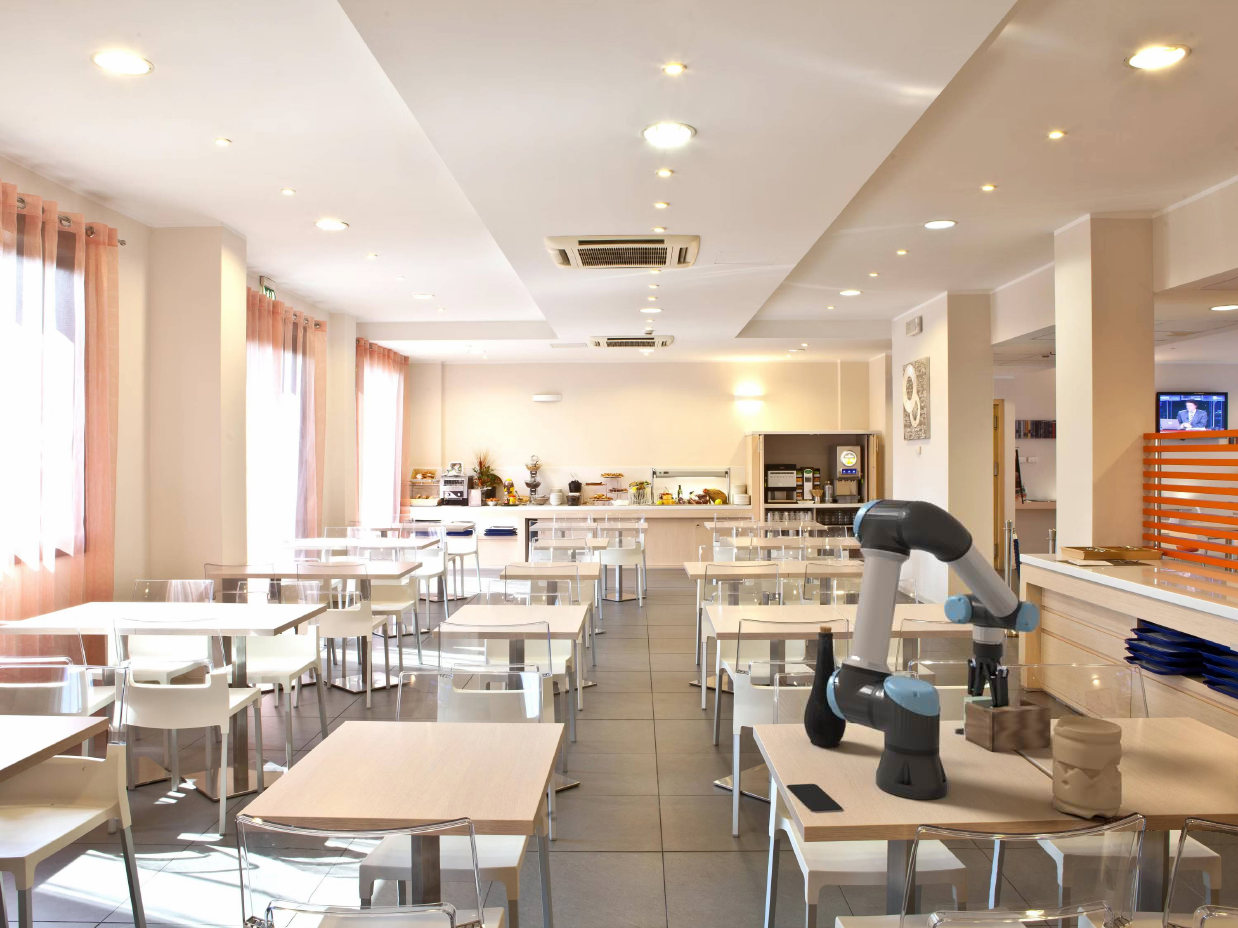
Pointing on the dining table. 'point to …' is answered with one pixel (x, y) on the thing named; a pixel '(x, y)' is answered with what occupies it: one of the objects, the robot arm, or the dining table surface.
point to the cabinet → (1008, 726)
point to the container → (1086, 766)
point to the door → (980, 703)
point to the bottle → (823, 698)
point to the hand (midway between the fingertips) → (987, 726)
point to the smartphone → (814, 798)
